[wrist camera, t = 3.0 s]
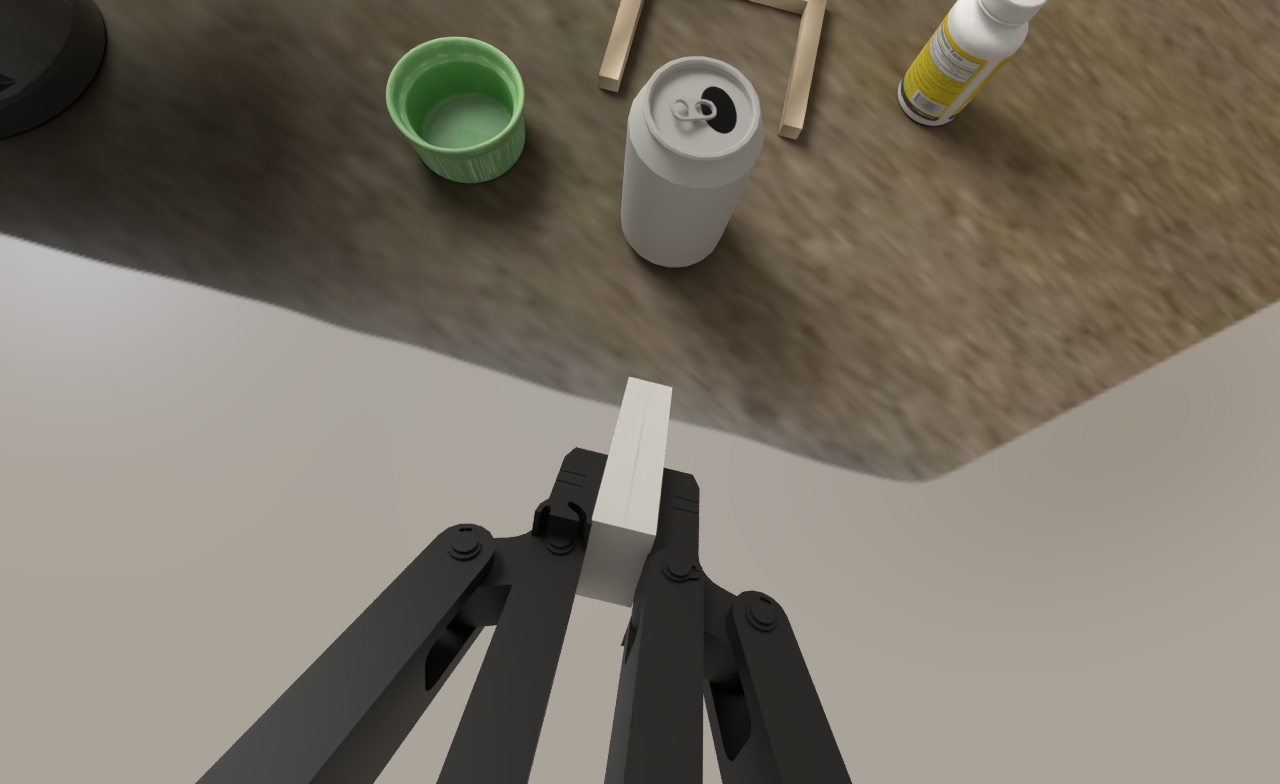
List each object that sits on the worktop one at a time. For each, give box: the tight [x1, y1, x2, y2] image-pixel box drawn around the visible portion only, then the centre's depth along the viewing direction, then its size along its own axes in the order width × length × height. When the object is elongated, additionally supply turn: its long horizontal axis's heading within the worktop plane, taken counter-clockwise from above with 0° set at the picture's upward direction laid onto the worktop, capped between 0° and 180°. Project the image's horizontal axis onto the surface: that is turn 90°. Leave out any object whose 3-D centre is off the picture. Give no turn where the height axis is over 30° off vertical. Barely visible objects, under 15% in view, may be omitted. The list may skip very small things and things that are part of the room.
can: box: [621, 57, 764, 267], centre depth 32 cm, size 8×8×12 cm
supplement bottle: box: [898, 0, 1047, 126], centre depth 37 cm, size 5×5×10 cm
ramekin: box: [386, 37, 525, 183], centre depth 36 cm, size 9×9×4 cm
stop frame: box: [599, 0, 827, 140], centre depth 41 cm, size 16×14×1 cm
